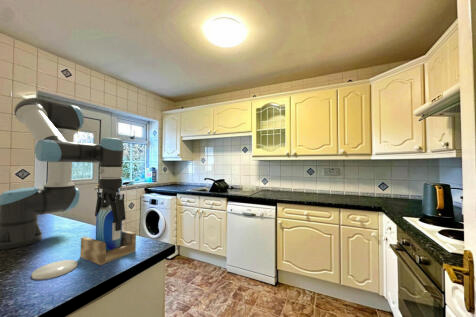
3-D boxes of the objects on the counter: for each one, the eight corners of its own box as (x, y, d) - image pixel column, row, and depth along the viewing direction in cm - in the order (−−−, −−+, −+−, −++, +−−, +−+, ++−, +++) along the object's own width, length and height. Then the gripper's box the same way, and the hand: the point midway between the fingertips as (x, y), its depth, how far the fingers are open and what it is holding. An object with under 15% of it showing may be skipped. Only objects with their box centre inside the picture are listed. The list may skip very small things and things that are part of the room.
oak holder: (80, 257, 74) (81, 237, 74) (115, 244, 86) (115, 228, 86) (100, 265, 68) (101, 244, 68) (135, 250, 80) (135, 233, 80)
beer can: (108, 255, 72) (110, 210, 73) (89, 253, 74) (90, 209, 74) (126, 246, 80) (127, 206, 81) (108, 244, 82) (109, 205, 83)
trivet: (25, 273, 63) (25, 271, 63) (67, 259, 72) (67, 257, 72) (40, 283, 58) (40, 281, 58) (84, 266, 67) (84, 264, 67)
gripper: (85, 177, 79) (83, 235, 79) (118, 179, 70) (116, 245, 69) (105, 176, 86) (103, 229, 85) (137, 178, 76) (135, 238, 76)
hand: (109, 236), depth 77 cm, fingers closed on beer can, 8 cm apart
